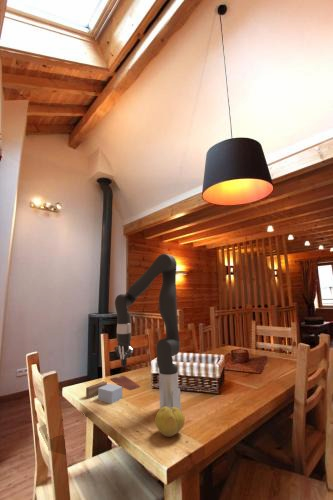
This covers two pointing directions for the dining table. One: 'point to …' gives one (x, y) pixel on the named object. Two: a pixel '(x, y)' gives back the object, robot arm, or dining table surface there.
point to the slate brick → (110, 393)
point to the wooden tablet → (125, 382)
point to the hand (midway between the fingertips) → (123, 366)
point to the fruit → (169, 421)
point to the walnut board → (94, 389)
